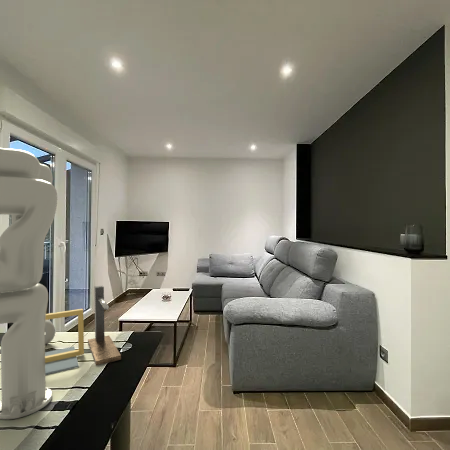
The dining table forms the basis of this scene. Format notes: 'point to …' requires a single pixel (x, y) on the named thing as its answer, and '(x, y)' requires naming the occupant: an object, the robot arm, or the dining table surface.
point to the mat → (60, 362)
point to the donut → (49, 331)
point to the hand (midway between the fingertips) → (21, 256)
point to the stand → (102, 333)
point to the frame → (80, 335)
